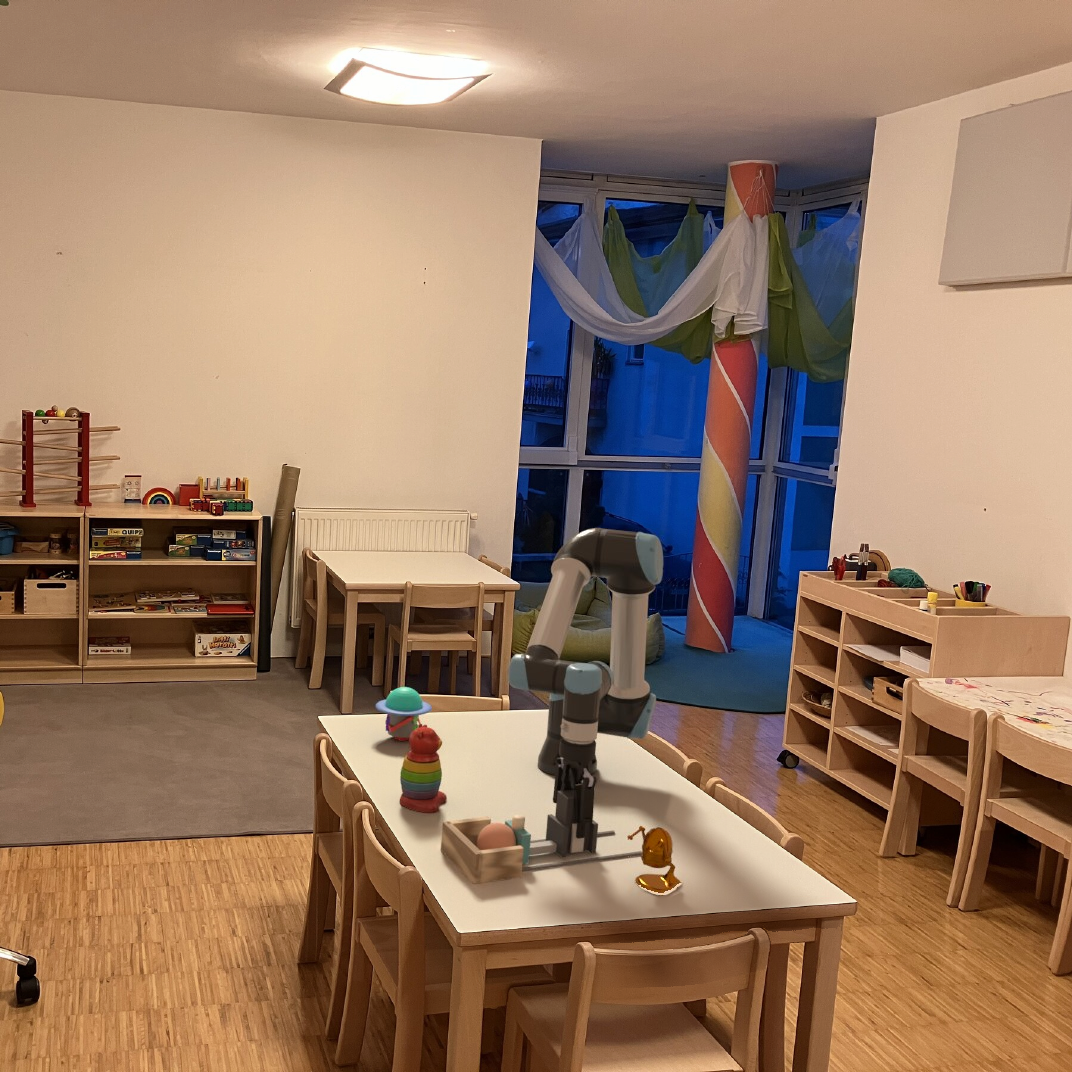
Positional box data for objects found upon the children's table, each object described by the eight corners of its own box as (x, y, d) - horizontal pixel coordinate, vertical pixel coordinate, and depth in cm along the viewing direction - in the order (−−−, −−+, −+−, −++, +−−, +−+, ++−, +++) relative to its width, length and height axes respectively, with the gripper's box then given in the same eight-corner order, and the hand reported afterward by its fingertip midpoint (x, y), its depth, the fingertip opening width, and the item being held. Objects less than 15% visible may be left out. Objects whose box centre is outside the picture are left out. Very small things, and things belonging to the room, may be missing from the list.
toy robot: (426, 749, 300) (430, 697, 298) (369, 745, 300) (372, 692, 298) (432, 732, 315) (436, 682, 313) (378, 728, 315) (381, 678, 313)
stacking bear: (435, 814, 256) (440, 737, 254) (392, 808, 258) (396, 731, 256) (448, 798, 267) (453, 724, 264) (407, 792, 269) (411, 718, 266)
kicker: (583, 838, 248) (588, 784, 246) (602, 852, 241) (607, 797, 239) (501, 848, 239) (505, 793, 237) (518, 864, 232) (523, 807, 230)
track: (612, 832, 254) (613, 830, 254) (642, 854, 243) (643, 852, 243) (493, 847, 240) (493, 845, 240) (519, 872, 230) (519, 869, 229)
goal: (485, 843, 242) (487, 816, 241) (521, 877, 227) (523, 848, 226) (440, 849, 237) (442, 821, 237) (473, 883, 222) (476, 854, 222)
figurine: (621, 880, 229) (627, 823, 228) (666, 873, 234) (671, 816, 233) (646, 899, 222) (651, 839, 220) (691, 890, 227) (697, 832, 225)
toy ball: (520, 859, 236) (523, 822, 235) (505, 872, 229) (508, 834, 228) (485, 850, 239) (488, 814, 238) (469, 863, 232) (471, 826, 231)
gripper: (541, 726, 245) (533, 830, 248) (584, 754, 229) (575, 865, 232) (572, 724, 248) (564, 827, 251) (616, 751, 232) (607, 861, 235)
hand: (569, 845), depth 241 cm, fingers open, 5 cm apart
